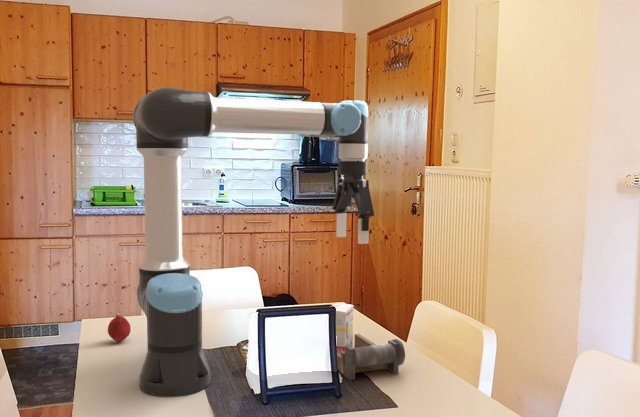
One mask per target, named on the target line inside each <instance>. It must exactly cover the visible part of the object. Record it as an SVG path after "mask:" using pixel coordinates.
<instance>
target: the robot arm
mask: <svg viewBox="0 0 640 417" xmlns="http://www.w3.org/2000/svg"><path fill="white" fill-rule="evenodd" d="M132 119H133V123H134V127H135V131H136V132H135V134H136V135H135V136H136V137H135V138H136V139H135V140H136V150H137V152H139V154H141V155H142V157H143V190H144V191H143V192H144V195H143V196H144V197H143V198H144V240H145V242H144V243H145V244H144V246H145V258H144V260H143V261H142V262H141V263H140V264H139V265H138V271H139V272H138V273H139V274H138V278H139V279H138V280H139V281H138V282H139V283H138V286H137V291H136V296H137V297H136V298H137V302H138V306H140V309H141V310H142V312H143V313H144V315H145V317H146V326H147V328H146V331H147V332H146V333H147V334H146V335H147V352H146V353H145V354H146V355H145V358H144V361H143V365H142V368H141V371H140V373H139V388H140V390H141V391H142V392H144V393H146V394H148V395H152V396H155V397H180V396H184V395H185V396H186V395H190V394H194V393H198V392H200V391H202V390H204V389H205V388H207V387H209V385H210V384H209V383H211V370H210V366H209V365H208V364H209V363H208V361H207V358H206V354H205V352H204V349H203V296H204V295H203V294H204V293H203V290H202V283H201V281H200V280H199V279H198V278H197V277H196V276H193V275H191V274H190V263H189V262H188V261H187V260H186V259H185V258H184V252H183V250H184V248H183V247H184V243H183V242H184V241H183V237H184V236H183V235H184V234H183V179H182V178H183V177H182V171H183V170H182V169H183V167H182V164H183V163H182V157H183V156H184V155H185V154H186V153H187V152H188V150H189V148H188V146H189V144H188V143H189V138H194V137H196V138H197V137H200V138H201V137H204V138H205V137H206V138H207V137H210V136H211V135H212V134H213V133H225V134H226V133H227V134H228V133H229V134H231V133H234V134H270V135H271V134H272V135H274V134H275V135H298V136H299V137H307V138H311V137H312V138H338V158H339V159H340V161H339V162H338V174H339V176H343V177H338V179H337V187H336V193H335V196H334V200H333V205H332V211H335V213H336V232H335V236H336V238H346V237H347V222H348V221H347V219H348V218H347V217H348V215H347V213H348V211H347V208H348V205H349V203H350V201H351V198H353V200H354V202H355V205H356V209H357V211H358V214H359V215H358V216H357V219H358V220H357V221H358V222H357V223H358V224H357V244H359V245H362V244H363V245H365V244H367V245H368V244H369V243H370V241H369V240H370V239H369V238H370V219H371V217H374V216H375V211H374V207H373V203H372V202H373V201H372V197H371V192H370V185H369V179H363V176H366V175H367V174H368V162H367V161H365V160H367V159H368V151H369V147H368V137H369V136H368V133H369V130H368V129H369V108H368V103H367V102H366V101H363V100H342V101H340V102H338V103H336V102H335V103H331V102H315V101H313V102H312V101H298V100H297V101H295V100H292V101H291V100H275V99H274V100H273V99H254V98H237V97H235V98H233V97H218V96H217V97H215V96H213V95H212V94H211V93H210V91H196V90H188V89H182V88H176V87H175V88H174V87H169V86H167V87H160V88H157V89H154V90H153V91H150V92H149V93H146V95H143V96H142V97H141V98H140V99H139V100H138V102H137V104H136V106H135V107H134V110H133V118H132Z"/></svg>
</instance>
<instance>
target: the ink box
mask: <svg viewBox="0 0 640 417" xmlns="http://www.w3.org/2000/svg"><path fill="white" fill-rule="evenodd" d="M332 306H334V307H335V308H336V336H337V351H338V352H339V353H340V354H341V352H344V351H345V346H348V345H350V346H352V347H353V348H354V346H353V342H354V341H353V340H354V307H355V305H354V304H349V303H343V302H335V303H334V304H333V305H332Z"/></svg>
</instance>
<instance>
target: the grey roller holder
mask: <svg viewBox="0 0 640 417" xmlns="http://www.w3.org/2000/svg"><path fill="white" fill-rule="evenodd" d="M353 340H354V341H353V342H354V346H353V347H352V346H350V345H348V346H345V351H344V352H341V354H340V353H339V352H338V351H337V357H338V366H339V371H338V372H340V374H342V375H344V377H345V378H347V379H349V381H353V380H356V373H357V374H358V373H363V372H370V371H377V370H385V369H387V371H389V372H390V373H392V374H395V375H396V374H399V366H401V365H403V364H404V363H405V360H406V351H405V347H404V344H403V342H402V341H401V340H400V339H399V338H394V339H391V340H387V343H381V344H377V343H374V342H373V341H371V340H369V339H368V338H366V337H364V336H363V335H362V334H359V333H355V334H354V333H353Z"/></svg>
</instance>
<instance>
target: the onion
mask: <svg viewBox="0 0 640 417" xmlns="http://www.w3.org/2000/svg"><path fill="white" fill-rule="evenodd" d="M130 333H131V323H130V322H129V321H128V320H127V318H125V317H124V316H123V315H121V313H119V312H117V313H116V315H115V317H113V318H112V319H111V320H110V321H109V323H108V327H107V335H109V337H110V338H111V339H112V340H113V341H115V342H116V343H117V344H120V343H122V342H123V341H124V340H126V339H127V338H128V337H129V336H130Z"/></svg>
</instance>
